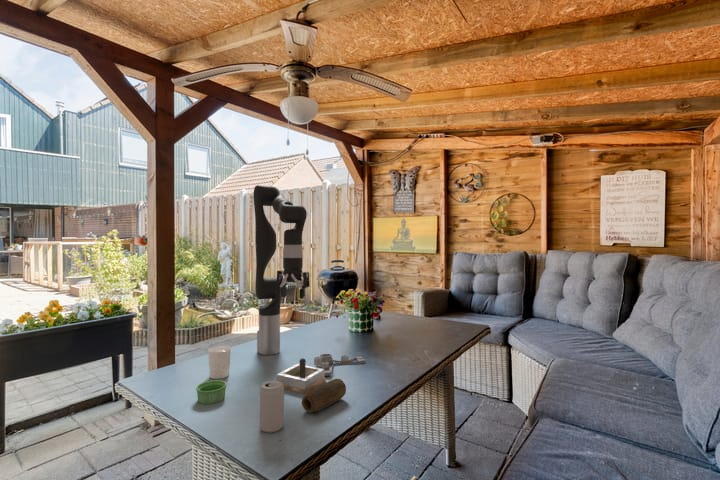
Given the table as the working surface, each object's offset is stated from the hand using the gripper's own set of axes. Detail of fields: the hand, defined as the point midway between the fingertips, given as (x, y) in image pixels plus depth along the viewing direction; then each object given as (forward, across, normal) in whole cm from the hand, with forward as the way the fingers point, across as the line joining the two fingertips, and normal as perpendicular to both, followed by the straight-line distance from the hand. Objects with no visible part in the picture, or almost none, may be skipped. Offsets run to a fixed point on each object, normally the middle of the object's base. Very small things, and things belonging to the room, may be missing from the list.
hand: (292, 297), depth 144 cm
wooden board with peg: (+28, +12, -10) cm, 32 cm away
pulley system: (+29, +12, +11) cm, 33 cm away
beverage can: (+28, +22, -38) cm, 52 cm away
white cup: (+28, -20, -18) cm, 39 cm away
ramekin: (+28, -7, -33) cm, 44 cm away
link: (+27, +11, -10) cm, 31 cm away
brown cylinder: (+28, +28, -20) cm, 44 cm away
